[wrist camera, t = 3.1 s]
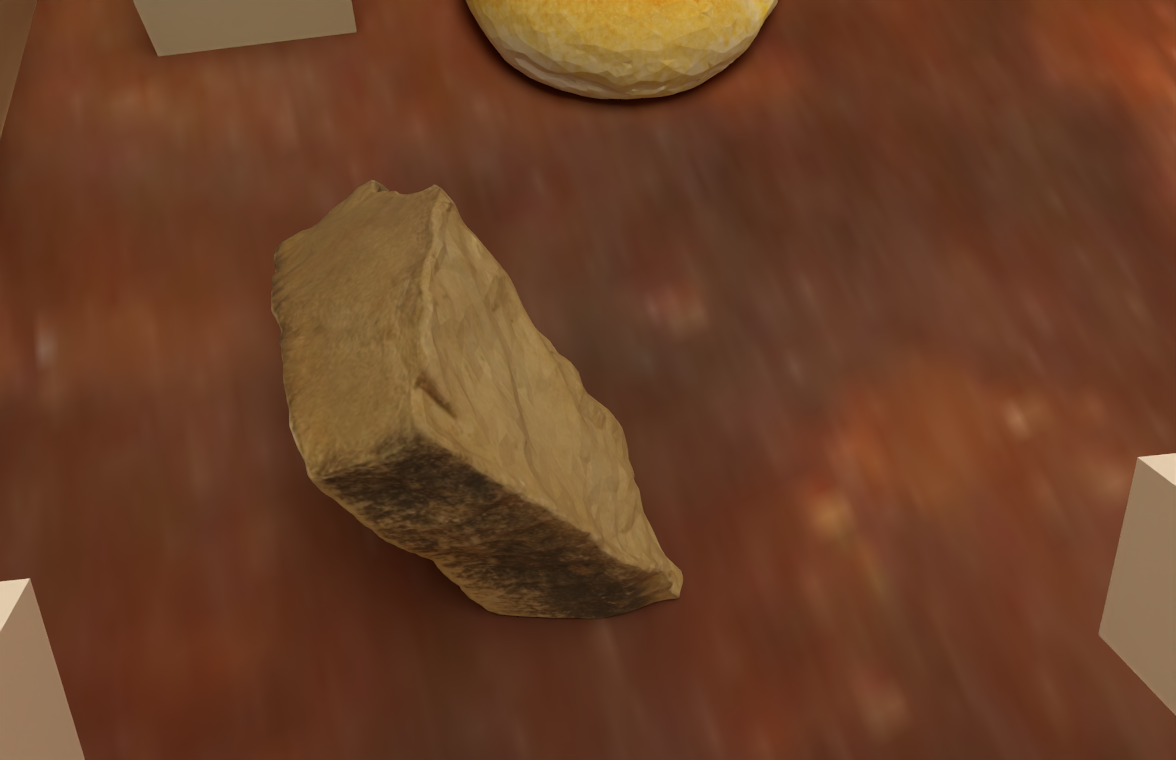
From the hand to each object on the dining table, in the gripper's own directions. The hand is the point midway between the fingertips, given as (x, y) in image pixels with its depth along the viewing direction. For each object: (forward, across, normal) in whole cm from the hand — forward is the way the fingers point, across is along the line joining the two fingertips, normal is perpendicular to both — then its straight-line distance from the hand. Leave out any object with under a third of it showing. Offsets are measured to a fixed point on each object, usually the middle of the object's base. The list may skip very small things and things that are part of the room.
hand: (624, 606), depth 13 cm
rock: (+12, -1, -3) cm, 12 cm away
